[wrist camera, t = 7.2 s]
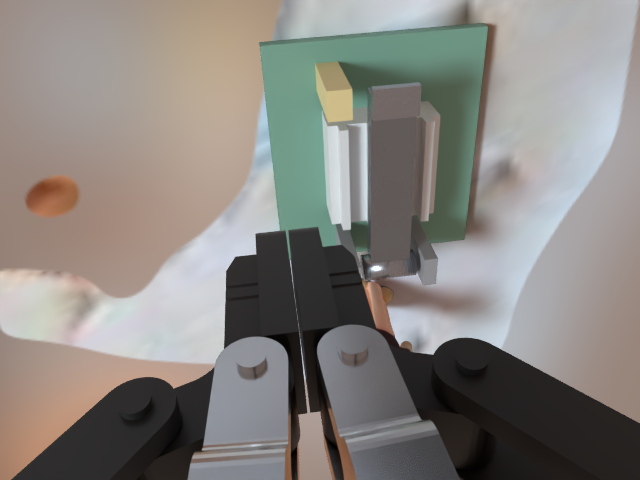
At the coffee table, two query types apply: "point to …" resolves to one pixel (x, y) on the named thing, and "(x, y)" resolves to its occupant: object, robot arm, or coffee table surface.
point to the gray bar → (391, 179)
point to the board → (351, 130)
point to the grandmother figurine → (382, 312)
